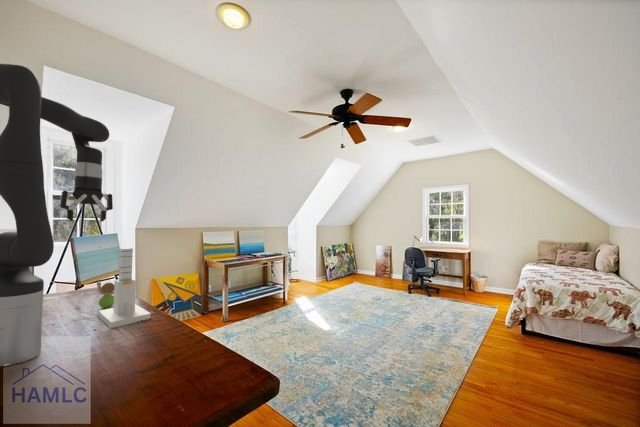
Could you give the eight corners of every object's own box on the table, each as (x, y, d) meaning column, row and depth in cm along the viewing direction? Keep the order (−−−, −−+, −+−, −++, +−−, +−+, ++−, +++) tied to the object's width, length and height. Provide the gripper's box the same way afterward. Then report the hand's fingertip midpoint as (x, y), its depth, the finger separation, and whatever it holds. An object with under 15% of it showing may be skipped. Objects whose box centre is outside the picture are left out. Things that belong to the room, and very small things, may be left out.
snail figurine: (97, 307, 113) (99, 278, 114) (116, 305, 116) (117, 277, 116) (93, 311, 108) (94, 280, 109) (113, 309, 111) (114, 279, 111)
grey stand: (150, 318, 101) (151, 280, 101) (110, 328, 91) (112, 286, 92) (134, 308, 112) (135, 274, 112) (97, 315, 103) (99, 278, 103)
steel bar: (131, 293, 102) (132, 248, 103) (120, 295, 100) (122, 248, 100) (128, 291, 104) (130, 247, 105) (118, 293, 102) (119, 248, 102)
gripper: (63, 172, 90) (61, 221, 90) (115, 178, 101) (114, 221, 101) (60, 174, 95) (58, 220, 94) (110, 180, 106) (108, 221, 105)
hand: (87, 221), depth 97 cm, fingers open, 8 cm apart
